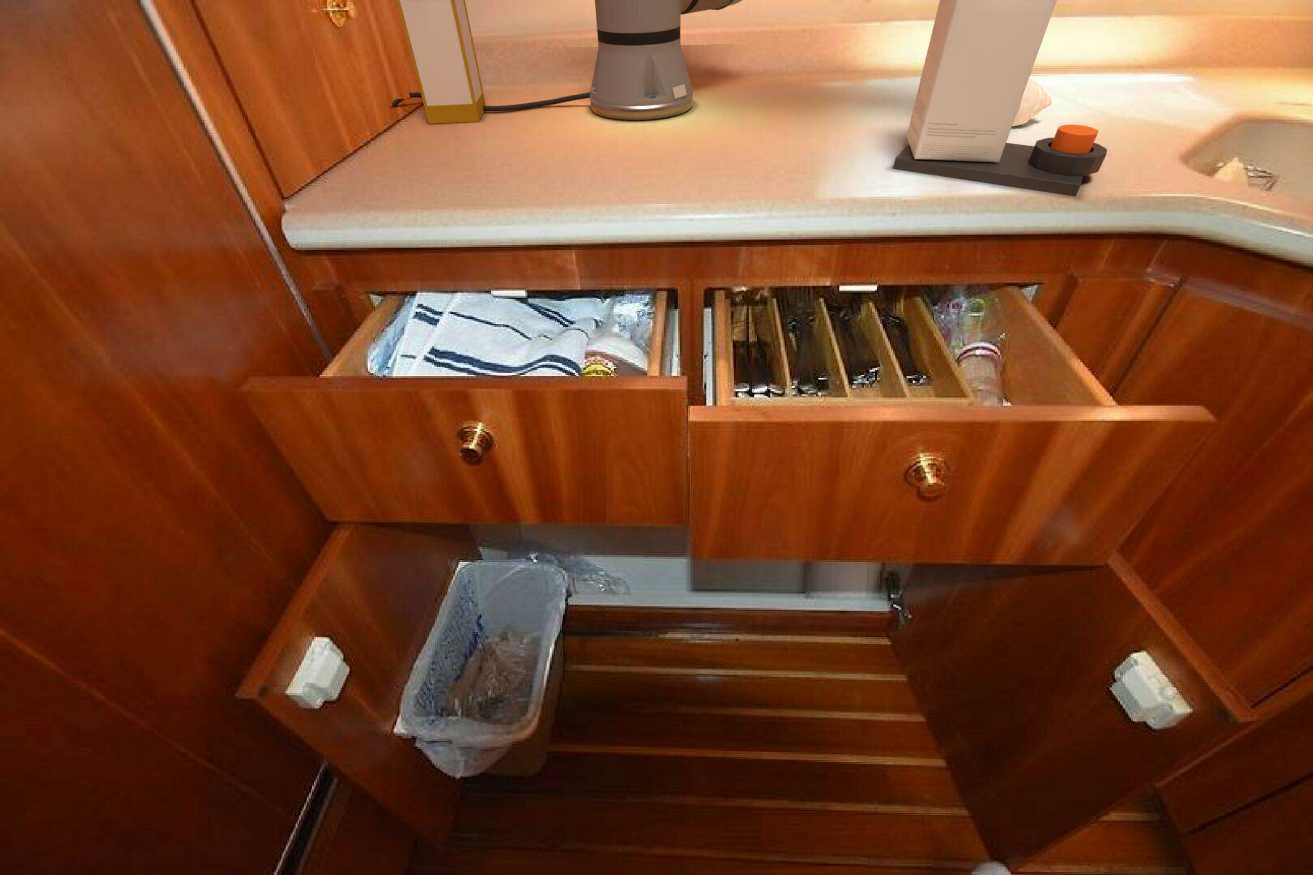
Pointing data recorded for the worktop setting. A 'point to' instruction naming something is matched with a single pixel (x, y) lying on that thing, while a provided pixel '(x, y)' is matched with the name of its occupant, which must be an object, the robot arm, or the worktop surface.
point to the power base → (1016, 167)
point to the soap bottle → (443, 59)
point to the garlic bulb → (1031, 102)
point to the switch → (1074, 139)
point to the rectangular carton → (975, 77)
